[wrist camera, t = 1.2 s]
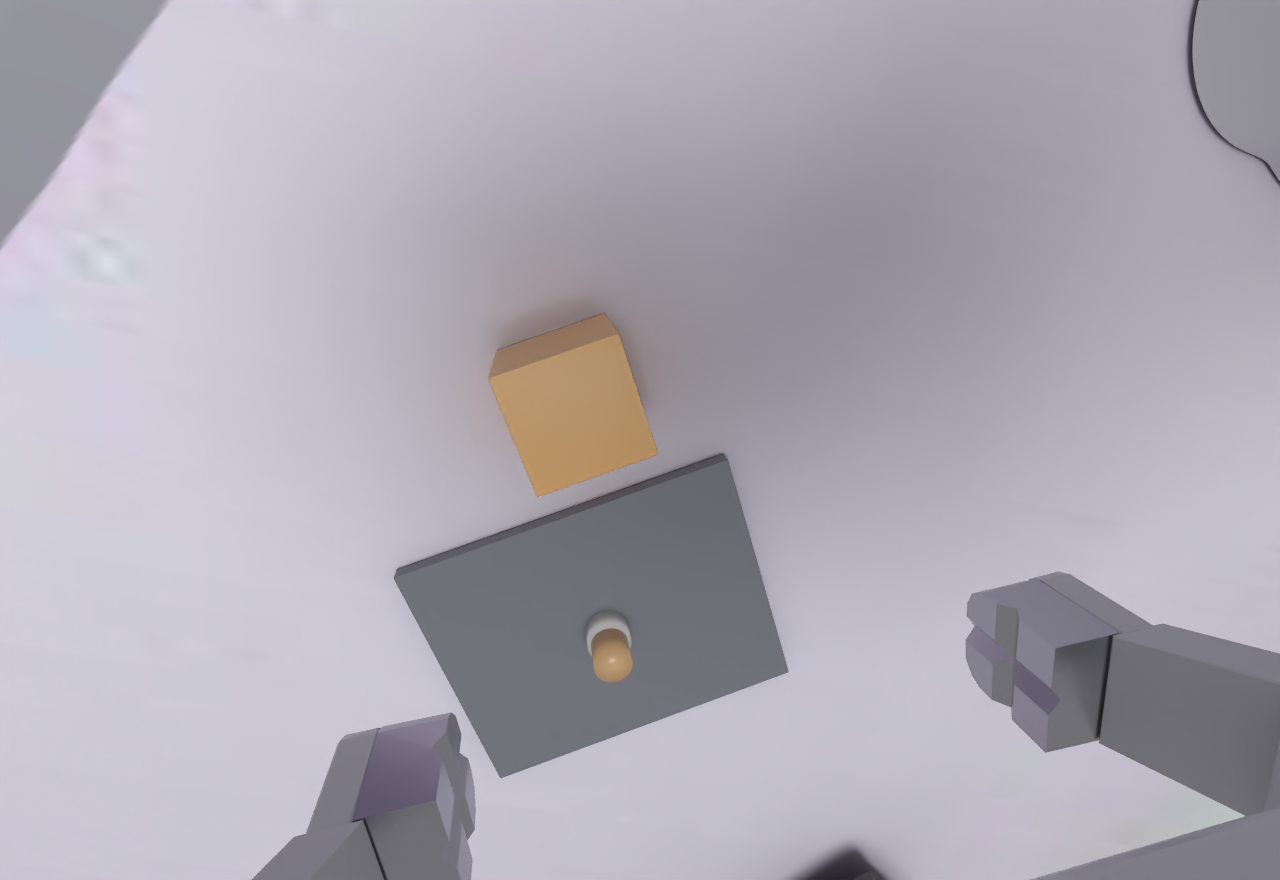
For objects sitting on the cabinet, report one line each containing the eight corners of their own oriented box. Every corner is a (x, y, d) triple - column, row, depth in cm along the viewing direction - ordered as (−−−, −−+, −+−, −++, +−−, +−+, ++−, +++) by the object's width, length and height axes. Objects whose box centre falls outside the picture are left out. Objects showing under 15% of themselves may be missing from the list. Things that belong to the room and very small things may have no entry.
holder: (722, 453, 38) (746, 483, 34) (783, 662, 44) (809, 709, 39) (397, 569, 37) (379, 613, 33) (501, 766, 43) (497, 825, 39)
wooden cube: (604, 312, 34) (618, 333, 28) (638, 414, 36) (658, 454, 30) (496, 350, 34) (487, 378, 28) (537, 450, 36) (537, 497, 30)
